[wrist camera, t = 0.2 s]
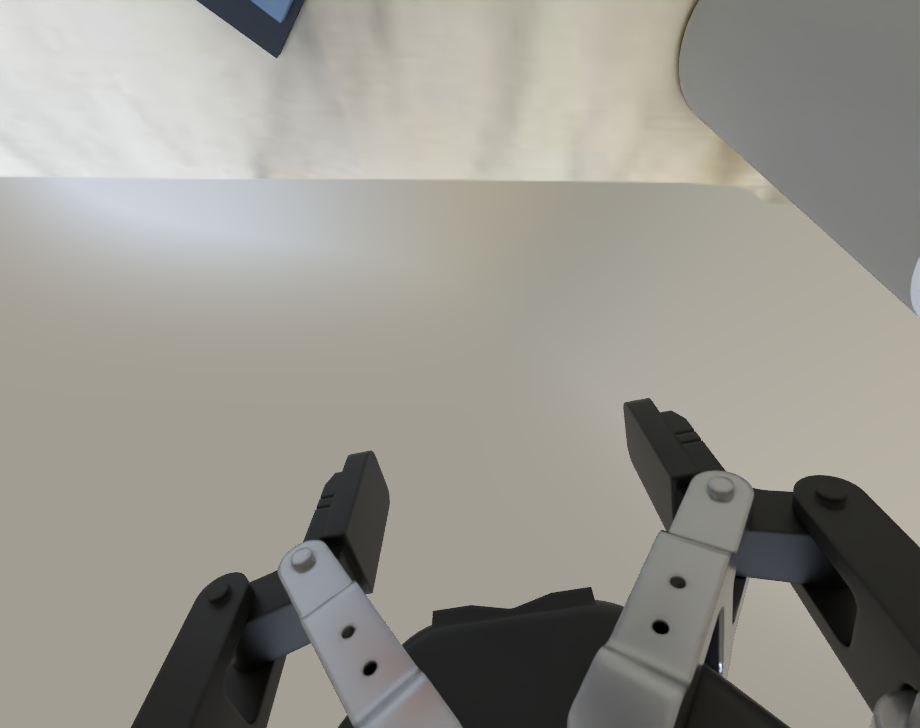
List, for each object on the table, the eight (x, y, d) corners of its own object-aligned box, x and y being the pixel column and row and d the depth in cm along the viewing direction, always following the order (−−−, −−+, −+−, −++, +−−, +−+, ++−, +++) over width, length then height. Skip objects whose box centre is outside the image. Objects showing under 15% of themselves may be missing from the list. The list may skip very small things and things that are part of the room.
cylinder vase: (894, 3, 34) (1398, 153, 16) (735, 153, 41) (970, 368, 24) (805, -144, 28) (1427, -149, 11) (639, 60, 35) (855, 253, 18)
